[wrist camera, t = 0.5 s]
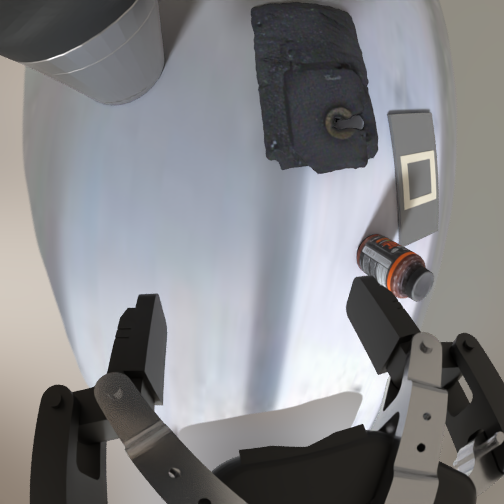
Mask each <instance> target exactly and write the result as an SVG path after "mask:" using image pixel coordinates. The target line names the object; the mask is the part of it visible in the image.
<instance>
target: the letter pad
mask: <svg viewBox="0 0 504 504" xmlns="http://www.w3.org/2000/svg"><path fill="white" fill-rule="evenodd" d="M388 121H389V127H390V133H391V140H392V147H393V155H394V164H395V173H396V185H397V199H398V220H399V245H401V246H403V247H404V246H406V245H409V244H411V243H413V242H415V241H417V240H420V239H422V238H424V237H426V236H428V235H430V234H432V233H434V232H436V231H438V216H439V192H438V168H437V154H436V144H435V135H434V127H433V120H432V113H406V114H390V115H388Z"/></svg>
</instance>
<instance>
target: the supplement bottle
mask: <svg viewBox="0 0 504 504" xmlns="http://www.w3.org/2000/svg"><path fill="white" fill-rule="evenodd" d="M357 264H358V266H359V268H360V269H361V270H362V271H363V272H364V273H366V274H367V275H368V276H369V275H372V276H374V278H375V279H376V280H377V281H378V283H379V284H380V285H383V286H384V287H386V288H387V289H388V290H390V291H391V292H392V293H393V294H394V295H395V296H396V297H398V298H407V297H409V298H411V299H412V300H414V301H416V302H419V301H421V300H423V299H424V298H425V297H426V296H427V295H428V294H429V292H430V291H431V289H432V286H433V282H434V276H433V273H432V272H430V271H429V270H427V269H426V268H425V263H424V261H423V259H422V258H421V257H420V256H419V255H417V254H415V253H414V252H412V251H410V250H408V249H407V248H405V247H403V246H401V245H399V244H397V243H396V242H394V241H392V240H390V239H388V238H386V237H384V236H382V235H378V234H375V235H371V236H369V237H367V238H366V239H365V240H364V241H363V242H362V244H361V245H360V247H359V249H358V252H357Z"/></svg>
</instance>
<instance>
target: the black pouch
mask: <svg viewBox="0 0 504 504" xmlns="http://www.w3.org/2000/svg"><path fill="white" fill-rule="evenodd" d="M251 16H252V19H251V24H252V27H253V31H254V35H255V37H254V50H255V61H256V71H257V80H258V84H259V89H258V91H259V94H260V104H261V110H262V119H263V130H264V143H265V147H266V157H267V158H268V159H269V160H277V161H278V162H279V164H280V166H281V169H282V170H285V169H289V168H294V167H302V166H309V167H311V168H312V169H313V170H314V171H316V172H317V173H318V174H322V173H327V172H332V171H335V170H341V169H345V168H354V169H357V168H359V167H365V166H366V165H367V162H368V159H370V158H374V156H375V155H376V153H377V151H378V134H377V128H376V122H375V117H374V114H373V108H372V104H371V100H370V96H369V94H368V87H367V85H368V79H367V71H366V67H365V64H364V61H363V57H362V51H361V49H360V47H359V43H358V39H357V34H356V29H355V25H354V23H353V21H352V17H351V16H350V15H349V14H348V13H347V12H345V11H342V10H340V9H336V8H333V7H330V6H322V5H318V4H308V3H299V2H292V3H282V4H276V3H275V4H267V5H263V6H261V7H254V8H252V9H251ZM354 115H360V116H361V117H362V119H363V121H364V126H363V129H362V130H359V129H356V128H345V129H342V130H338V129H336V128H333V127H334V126H335V123H334V119H336V120H339V119H341V120H346V119H350V118H351V117H352V116H354ZM336 122H337V121H336Z"/></svg>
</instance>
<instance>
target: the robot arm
mask: <svg viewBox="0 0 504 504" xmlns="http://www.w3.org/2000/svg"><path fill="white" fill-rule="evenodd" d="M0 55H1V56H4V57H6V58H8V59H11V60H13V61H16V62H18V63H21V64H23V65H25V66H27V67H29V68H31V69H34V70H36V71H38V72H40V73H42V74H44V75H47V76H49V77H51V78H53V79H55V80H57V81H59V82H61V83H63V84H65V85H67V86H69V87H71V88H73V89H74V90H76V91H78V92H80V93H82V94H84V95H86V96H88V97H90V98H92V99H93V100H95V101H97V102H100V103H103V104H107V105H121V104H125V103H128V102H131V101H133V100H136V99H138V98H139V97H141V96H142V95H144V94H145V93H147V92H148V91H149V90H150V89H151V88H152V87H153V86H154V84H155V83H156V82H157V80H158V79H159V77H160V75H161V73H162V70H163V66H164V48H163V39H162V31H161V22H160V13H159V4H158V0H0ZM346 312H347V316H348V318H349V320H350V322H351V324H352V326H353V327H354V329H355V331H356V333H357V335H358V337H359V339H360V341H361V342H362V344H363V346H364V348H365V350H366V352H367V354H368V356H369V358H370V360H371V362H372V364H373V366H374V368H375V370H376V372H377V374H378V375H379V374H382V373H386V372H388V373H389V375H390V376H389V377H388V379H387V383H386V387H385V391H384V395H383V399H382V403H381V406H380V410H379V413H378V416H377V418H376V420H375V422H374V424H373V426H372V428H371V430H365V428H364V425H363V424H361V425H358V426H355V427H352V428H348V429H345V430H342V431H338V432H335V433H333V434H331V435H330V436H328V437H326V438H324V439H322V440H320V441H318V442H316V443H314V444H312V445H310V446H308V447H284V446H267V447H261V448H253V449H244V450H239V453H240V456H238V457H235V458H232V459H230V460H228V461H226V462H224V463H222V464H221V465H219V466H218V467H216V468H215V469H214V470H213V471H212V472H211V471H210V470H209V469H207V468H206V467H205V466H204V465H203V464H202V463H201V462H200V461H199V460H198V459H197V458H196V457H195V456H194V455H193V454H192V452H191V451H190V450H189V449H188V448H187V447H186V446H185V445H184V444H183V443H182V442H181V441H180V440H179V438H178V437H177V436H176V435H175V434H174V433H173V432H172V431H171V429H170V428H169V427H168V426H167V425H166V424H164V423H163V421H162V420H161V419H160V418H159V417H158V415H157V414H156V413H155V412H154V405H163V388H164V370H165V355H166V342H167V325H166V320H165V317H164V313H163V309H162V305H161V302H160V298H159V295H158V294H140V295H139V296H138V299H137V304H136V308H127V310H126V311H125V312H124V313H123V315H122V316H121V317H120V321H119V324H118V330H117V332H116V336H115V337H116V339H115V340H114V344H113V349H112V353H111V358H110V362H109V367H108V371H107V374H106V375H104V376H102V377H101V378H100V379H99V380H98V381H97V383H96V385H95V386H94V387H92V388H89V389H85V390H80V391H76V392H71V391H70V390H69V389H68V388H67V387H66V386H63V385H54V386H51V387H49V388H48V389H47V390H46V391H45V392H44V394H43V396H42V398H41V403H40V407H39V413H38V418H37V423H36V429H35V436H34V444H33V452H32V462H31V476H30V478H31V479H30V504H107V503H108V502H107V482H106V442H107V441H109V440H114V439H118V438H120V440H121V441H122V443H123V444H124V446H125V450H126V452H127V454H128V456H129V457H130V459H131V460H132V462H133V463H134V464H135V466H136V467H137V468H138V470H139V471H140V472H141V473H142V475H143V476H144V477H145V478H146V480H147V481H148V482H149V483H150V485H151V486H152V487H153V488H154V489H155V490H156V492H157V493H158V494H159V495H160V496H161V497H162V498H163V500H164V501H165V502H166V503H167V504H476V499H477V496H479V495H480V494H482V493H483V492H484V491H485V490H487V489H488V488H489V487H490V486H492V485H493V484H494V483H495V482H496V481H497V480H499V479H500V478H502V477H504V383H503V381H502V379H501V377H500V376H499V374H498V372H497V371H496V369H495V367H494V366H493V364H492V363H491V361H490V359H489V358H488V356H487V354H486V353H485V351H484V350H483V348H482V347H481V345H480V344H479V342H478V341H477V339H475V337H473V336H472V335H470V334H467V333H461V334H459V335H458V336H457V338H456V339H455V341H454V342H440V341H439V340H438V339H437V338H436V337H435V336H433V335H432V334H430V333H426V332H421V331H420V330H419V329H418V327H417V326H416V324H415V323H414V321H413V320H412V319H411V317H410V316H409V314H408V313H407V312H406V310H405V309H403V306H402V305H401V303H400V302H398V299H397V298H396V297H395V295H394V294H393V293H392V292H391V291H390V290H388V289H387V288H386V287H384V286H383V285H380V284H379V283H378V281H377V280H376V279H375V278H374V276H372V275H369V276H361V277H356V278H355V279H354V280H353V283H352V287H351V291H350V294H349V297H348V301H347V305H346ZM462 376H464V378H465V380H466V382H467V383H468V385H469V387H470V389H471V391H472V393H473V399H472V402H471V403H469V401H468V399H467V397H466V395H465V393H464V391H463V389H462V387H461V386H460V383H459V382H458V380H459V379H460V378H461V377H462ZM445 424H446V426H447V428H448V431H449V433H450V435H451V438H452V440H453V443H454V445H455V448H456V450H457V453H458V456H457V459H456V460H455V461H454V463H453V468H452V467H450V466H448V465H446V464H444V463H442V462H440V461H439V458H440V453H441V447H442V442H443V436H444V428H445Z"/></svg>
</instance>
